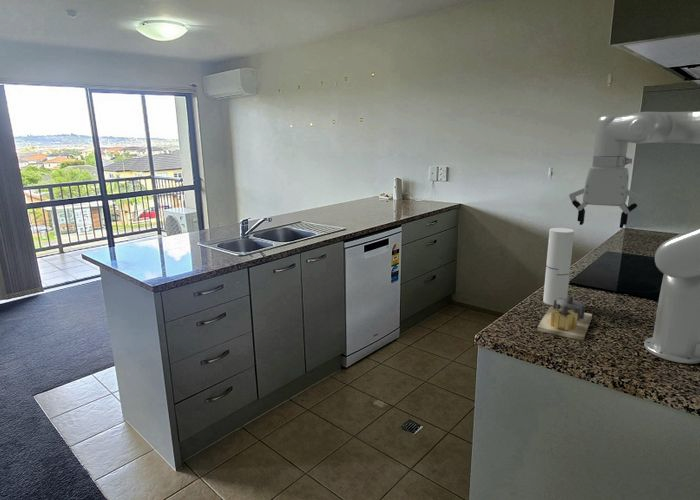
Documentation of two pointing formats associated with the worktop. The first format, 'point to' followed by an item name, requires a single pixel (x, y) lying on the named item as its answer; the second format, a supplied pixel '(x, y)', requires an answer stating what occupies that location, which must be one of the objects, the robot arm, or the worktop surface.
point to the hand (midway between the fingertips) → (601, 225)
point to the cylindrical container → (558, 264)
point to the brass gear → (564, 320)
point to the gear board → (561, 332)
